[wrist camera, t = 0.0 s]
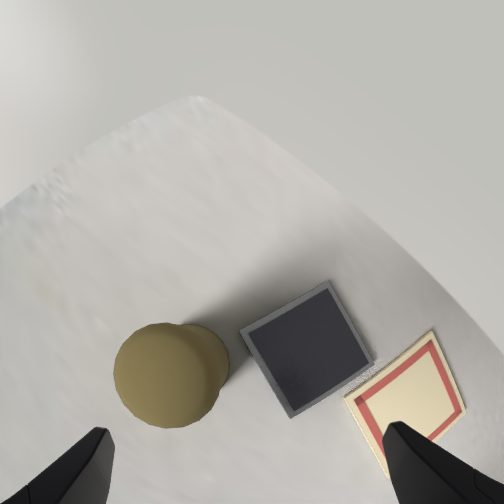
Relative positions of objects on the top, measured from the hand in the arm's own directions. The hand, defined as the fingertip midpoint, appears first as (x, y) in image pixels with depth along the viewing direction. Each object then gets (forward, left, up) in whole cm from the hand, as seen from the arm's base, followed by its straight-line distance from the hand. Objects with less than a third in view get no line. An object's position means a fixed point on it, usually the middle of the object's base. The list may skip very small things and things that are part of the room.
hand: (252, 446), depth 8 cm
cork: (+3, +2, -15) cm, 16 cm away
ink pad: (0, -6, -15) cm, 16 cm away
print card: (-10, -12, -15) cm, 22 cm away
